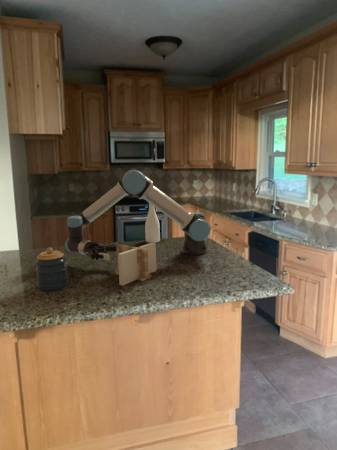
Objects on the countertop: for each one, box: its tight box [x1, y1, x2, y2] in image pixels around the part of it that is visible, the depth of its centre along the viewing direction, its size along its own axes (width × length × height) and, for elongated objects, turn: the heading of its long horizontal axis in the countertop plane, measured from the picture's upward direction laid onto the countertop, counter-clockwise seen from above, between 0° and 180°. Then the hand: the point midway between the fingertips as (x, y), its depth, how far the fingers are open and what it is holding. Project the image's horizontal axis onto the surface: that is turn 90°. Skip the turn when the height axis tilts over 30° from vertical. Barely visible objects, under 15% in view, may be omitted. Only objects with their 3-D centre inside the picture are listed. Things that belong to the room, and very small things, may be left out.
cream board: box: [118, 242, 157, 286], centre depth 158 cm, size 24×2×14 cm, turn 144°
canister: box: [34, 247, 69, 293], centre depth 149 cm, size 13×13×18 cm
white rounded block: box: [144, 202, 161, 244], centre depth 226 cm, size 10×10×30 cm
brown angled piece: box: [115, 243, 152, 282], centre depth 161 cm, size 18×6×14 cm, turn 54°
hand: (119, 254), depth 164 cm, fingers open, 13 cm apart
